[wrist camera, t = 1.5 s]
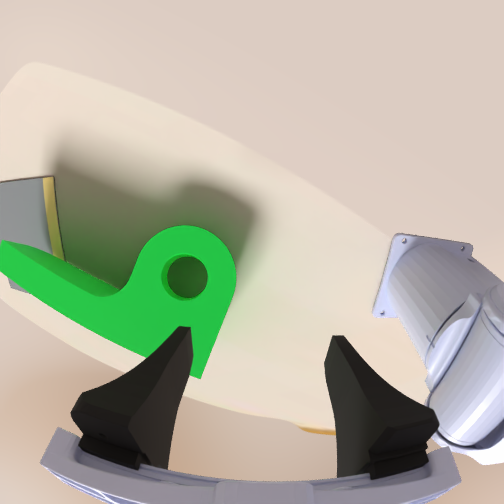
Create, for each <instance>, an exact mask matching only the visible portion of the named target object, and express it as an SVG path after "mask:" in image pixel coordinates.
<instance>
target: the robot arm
mask: <svg viewBox="0 0 504 504" xmlns="http://www.w3.org/2000/svg"><path fill="white" fill-rule="evenodd" d="M404 238H405V241H404V242H402V240H403V239H404ZM462 247H463V248H462ZM461 248H462V249H461ZM472 251H473V246H472V245H471V244H469V243H463V242H457V241H451V240H444V239H438V238H430V237H424V236H417V235H410V234H403V233H397V234H395V235H394V237H393V240H392V244H391V248H390V252H389V256H388V260H387V263H386V267H385V271H384V274H383V278H382V281H381V285H380V288H379V291H378V295H377V298H376V301H375V304H374V307H373V310H372V314H373V316H374V317H379V318H399V320H400V322H401V324H402V325H403V327H404V329H405V330H406V332H407V334H408V336H409V337H410V339H411V341H412V343H413V345H414V346H415V348H416V350H417V352H418V354H419V355H420V357H421V359H422V361H423V363H424V365H425V367H426V369H427V371H428V375H427V378H426V380H425V382H426V384H427V386H428V388H429V391H430V394H429V396H428V397H427V399H426V401H425V403H424V405H422V404H420V403H418V402H416V401H414V400H412V399H411V398H409V397H407V396H406V395H404V394H402V393H401V392H399V391H398V390H397V389H395V388H394V387H392V386H391V385H390V384H389V383H387V382H386V381H385V380H384V379H383V378H381V377H380V376H379V375H378V374H377V373H376V372H375V371H374V370H373V369H372V368H371V367H370V366H369V365H368V364H367V363H366V362H365V361H364V359H363V358H362V357H361V356H360V355H359V354H358V352H357V351H356V350H355V349H354V348H353V346H352V345H351V344H350V343H349V342H348V340H347V339H346V338H345V337H344V336H332V339H331V342H330V346H329V349H328V352H327V356H326V359H325V362H324V367H325V377H326V383H327V387H328V391H329V396H330V400H331V404H332V408H333V413H334V418H335V427H336V439H337V478H332V479H322V480H309V481H283V482H269V481H268V482H267V481H243V480H230V479H221V478H212V477H204V476H197V475H192V474H186V473H180V472H175V471H171V470H168V462H169V454H170V447H171V441H172V435H173V430H174V424H175V419H176V415H177V410H178V407H179V404H180V401H181V398H182V395H183V392H184V389H185V386H186V384H187V381H188V378H189V375H190V371H191V367H192V362H193V357H194V354H193V344H192V335H191V327H185V326H178V327H177V328H176V329H175V331H174V332H173V333H172V334H171V335H170V336H169V337H168V338H167V339H166V340H165V341H164V342H163V343H162V344H161V345H160V346H159V347H158V348H157V349H156V350H155V351H154V352H153V353H152V354H151V355H150V356H148V357H147V358H146V359H145V360H144V361H142V362H141V363H140V364H139V365H137V366H136V367H135V368H133V369H132V370H130V371H129V372H127V373H126V374H124V375H122V376H120V377H119V378H117V379H115V380H113V381H111V382H109V383H107V384H105V385H102V386H100V387H98V388H94V389H92V390H89V391H86V392H83V393H82V394H81V395H80V397H79V398H78V400H77V402H76V404H75V406H74V407H73V409H72V411H71V417H72V419H73V421H74V422H75V423H76V425H77V426H78V427H79V429H80V430H81V431H82V433H83V436H82V438H80V437H78V436H77V435H75V434H73V433H71V432H68V431H66V430H64V429H62V428H60V427H58V428H57V429H56V431H55V433H54V435H53V437H52V439H51V441H50V443H49V445H48V447H47V449H46V451H45V453H44V455H43V457H42V459H41V461H40V464H41V465H42V466H44V467H45V468H46V469H47V470H49V471H50V472H51V473H52V474H53V475H55V476H56V477H57V478H59V479H60V480H61V481H62V482H64V483H65V484H67V485H70V486H71V487H73V488H75V489H77V490H79V491H81V492H84V493H86V494H88V495H90V496H93V497H94V498H97V499H99V500H101V501H103V502H106V503H108V504H425V503H428V502H430V501H432V500H435V499H436V498H438V497H440V496H441V495H443V494H444V493H446V492H448V491H449V490H451V489H452V488H454V487H455V486H457V485H458V484H460V483H461V478H460V475H459V472H458V469H457V466H456V463H455V461H454V458H453V455H452V453H451V451H452V452H457V453H463V454H466V455H468V456H470V457H472V458H474V459H475V460H476V461H478V462H479V463H480V464H481V465H488V464H497V463H502V462H504V282H502V281H501V280H500V279H499V278H498V277H497V276H495V275H494V274H493V273H492V272H491V271H489V270H488V269H487V268H486V267H485V266H483V265H482V264H481V263H479V262H478V261H477V260H476V259H474V258H473V257H472V256H471V255H472ZM382 311H384V312H383V313H381V312H382ZM431 437H432V439H433V440H434V441H435V442H436V443H437V444H439V445H440V446H441V447H443V448H440V449H437V450H434V451H432V452H430V453H428V454H426V451H425V450H426V449H427V448H428V446H427V443H426V442H427V441H428V440H429V439H430V438H431Z"/></svg>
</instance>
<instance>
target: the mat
mask: <svg viewBox="0 0 504 504" xmlns="http://www.w3.org/2000/svg"><path fill="white" fill-rule="evenodd" d="M2 240H6V241H11V242H15V243H20V244H25V245H29V246H32V247H35V248H38V249H40V250H43V251H45V252H47V253H50V254H52V255H54V256H56V257H58V258H60V259H62V260H63V261H65V257H64V252H63V246H62V241H61V235H60V228H59V221H58V214H57V205H56V196H55V183H54V177H45V178H35V179H26V180H18V181H10V182H3V183H0V245H1V241H2ZM8 280H9V283H10V286H11V288H13V289H16V290H19V291H23V292H26V293H29V292H27V291H26V290H25V289H23V288H22V287H20V286H19V285H18V284H16V283H15V282H14V281H12V280H11V279H10V278H8ZM29 294H30V293H29Z"/></svg>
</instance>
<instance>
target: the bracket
mask: <svg viewBox="0 0 504 504" xmlns="http://www.w3.org/2000/svg"><path fill="white" fill-rule="evenodd" d="M182 257H193V258H196V259H198V260H199V261H200V262H202V263H203V265H204V266H205V268H206V270H207V274H208V281H207V285H206V287H205V289H204V290H203V291H202V292H201V293H200V294H199V295H197V296H195V297H191V298H185V297H181V296H179V295H177V294H175V293H174V292H173V291H172V290H171V288H170V286H169V284H168V280H167V274H168V270H169V268H170V266H171V264H172V263H173V262H174V261H176V260H177V259H179V258H182ZM0 272H2V273H3V274H4V275H6V276H7V277H8V278H10V279H11V280H12V281H14V282H15V283H16V284H18V285H19V286H20V287H22V288H23V289H25V290H26V291H27V292H29V293H30V294H32V295H33V296H35V297H36V298H38V299H39V300H41V301H42V302H44V303H45V304H47V305H48V306H50V307H52V308H53V309H55V310H56V311H58V312H60V313H61V314H63V315H65V316H66V317H68V318H70V319H71V320H73V321H75V322H76V323H78V324H80V325H82V326H84V327H85V328H87V329H89V330H91V331H93V332H95V333H96V334H98V335H100V336H102V337H104V338H106V339H108V340H110V341H112V342H114V343H116V344H118V345H120V346H122V347H124V348H126V349H128V350H130V351H133V352H135V353H137V354H139V355H141V356H144V357H146V358H147V357H148V356H150V355H151V354H152V353H153V352H154V351H155V350H156V349H157V348H158V347H159V346H160V345H161V344H162V343H163V342H164V341H165V340H166V339H167V338H168V337H169V336H170V335H171V334H172V333H173V332H174V331H175V329H176V328H177V327H178V326H185V327H191V335H192V344H193V354H194V357H193V362H192V367H191V371H190V376H193V377H196V378H199V379H201V376H202V374H203V371H204V368H205V366H206V363H207V361H208V358H209V356H210V353H211V351H212V348H213V346H214V343H215V340H216V338H217V335H218V333H219V330H220V328H221V325H222V323H223V320H224V318H225V315H226V313H227V310H228V307H229V305H230V302H231V300H232V297H233V294H234V291H235V287H236V269H235V264H234V261H233V258H232V256H231V254H230V252H229V250H228V249H227V247H226V246H225V244H224V243H223V242H222V241H221V240H220V239H219V238H218V237H216V236H215V235H214V234H212V233H211V232H209V231H207V230H205V229H202V228H199V227H195V226H188V225H182V226H174V227H170V228H167V229H165V230H163V231H161V232H159V233H158V234H156V235H155V236H153V237H152V238H151V239H150V240H149V241H148V242H147V243H146V244H145V246H144V247H143V249H142V250H141V252H140V254H139V256H138V259H137V261H136V264H135V266H134V269H133V271H132V274H131V277H130V279H129V281H128V282H127V284H126V285H125V286H124V288H122V289H121V290H119V289H117V288H115V287H113V286H111V285H109V284H107V283H105V282H103V281H101V280H99V279H97V278H95V277H93V276H91V275H89V274H87V273H86V272H84V271H82V270H80V269H78V268H76V267H74V266H72V265H71V264H69V263H67V262H65V261H63V260H62V259H60V258H58V257H56V256H54V255H52V254H50V253H47V252H45V251H43V250H40V249H38V248H35V247H32V246H29V245H25V244H20V243H15V242H11V241H6V240H2V241H1V245H0Z"/></svg>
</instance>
